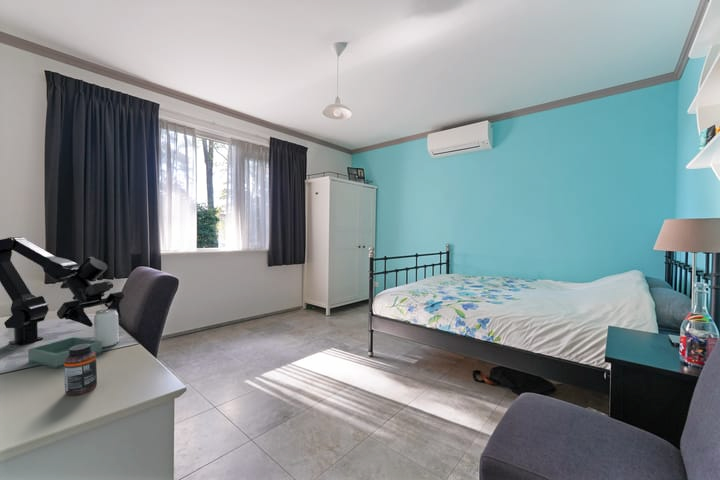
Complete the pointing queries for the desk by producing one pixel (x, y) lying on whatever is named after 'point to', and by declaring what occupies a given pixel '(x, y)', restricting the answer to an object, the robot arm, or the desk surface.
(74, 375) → the supplement bottle
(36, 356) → the tray
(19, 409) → the desk surface
